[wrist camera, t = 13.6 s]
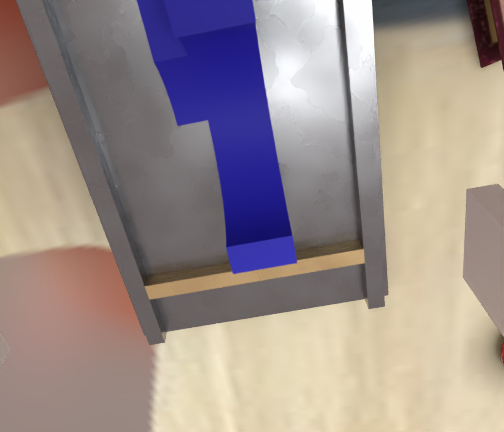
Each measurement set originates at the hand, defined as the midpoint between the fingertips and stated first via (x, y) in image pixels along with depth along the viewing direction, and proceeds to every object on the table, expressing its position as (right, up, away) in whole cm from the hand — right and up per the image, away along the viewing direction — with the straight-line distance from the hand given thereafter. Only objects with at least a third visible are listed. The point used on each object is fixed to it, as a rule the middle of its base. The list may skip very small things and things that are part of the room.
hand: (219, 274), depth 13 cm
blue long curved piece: (-1, +7, +12) cm, 14 cm away
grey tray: (-1, +7, +13) cm, 15 cm away
